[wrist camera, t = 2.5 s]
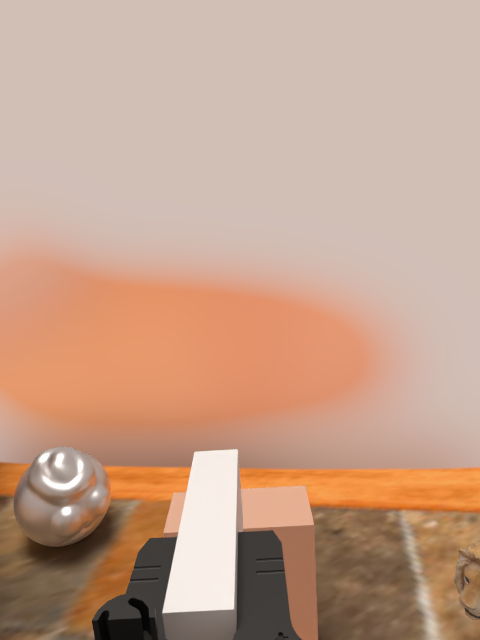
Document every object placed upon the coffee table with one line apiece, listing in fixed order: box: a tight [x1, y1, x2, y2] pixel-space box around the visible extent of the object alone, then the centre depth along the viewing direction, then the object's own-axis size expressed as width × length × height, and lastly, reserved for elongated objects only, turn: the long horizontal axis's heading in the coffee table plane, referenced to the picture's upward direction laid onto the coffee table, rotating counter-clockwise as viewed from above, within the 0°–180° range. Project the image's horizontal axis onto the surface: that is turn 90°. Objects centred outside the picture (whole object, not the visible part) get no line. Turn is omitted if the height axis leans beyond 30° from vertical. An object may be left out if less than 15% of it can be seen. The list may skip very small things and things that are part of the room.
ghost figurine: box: [14, 447, 111, 547], centre depth 45 cm, size 9×9×10 cm
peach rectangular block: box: [164, 486, 318, 640], centre depth 31 cm, size 4×9×12 cm, turn 90°
